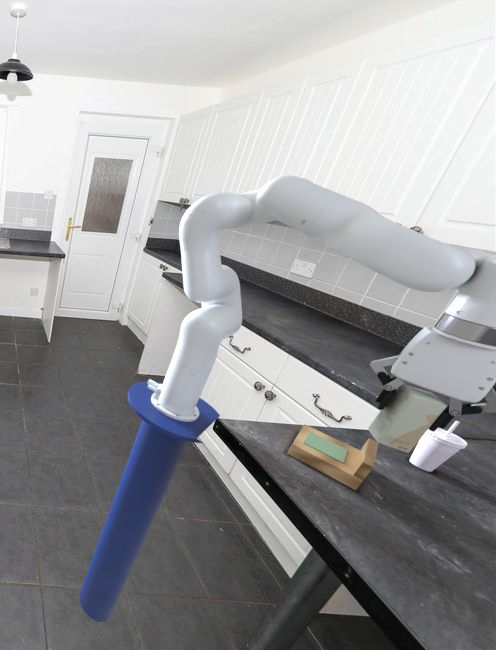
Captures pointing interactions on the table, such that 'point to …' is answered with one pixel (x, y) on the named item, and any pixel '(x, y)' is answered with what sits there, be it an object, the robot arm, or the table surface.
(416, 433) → the box
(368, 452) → the wooden sharpening stone holder
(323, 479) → the table surface
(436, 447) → the smoothie
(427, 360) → the robot arm
